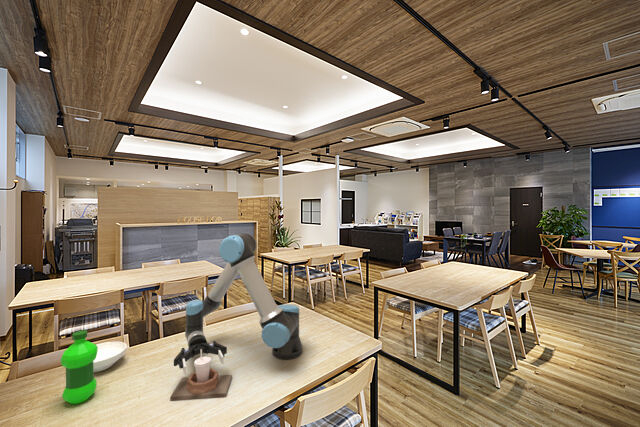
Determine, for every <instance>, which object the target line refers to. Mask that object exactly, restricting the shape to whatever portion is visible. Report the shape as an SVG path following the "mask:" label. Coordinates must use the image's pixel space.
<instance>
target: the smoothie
mask: <svg viewBox="0 0 640 427" xmlns="http://www.w3.org/2000/svg"><path fill="white" fill-rule="evenodd" d="M200 352H201V354H200V357H198V358H196V359H195V360H194V362H193V366H194V369H195V372H196V376H197V383H205V382H207V381H208V380H209V371H210V369H211V363H212V358H211V357H210V356H203V353H202V349H201V350H200Z"/></svg>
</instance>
